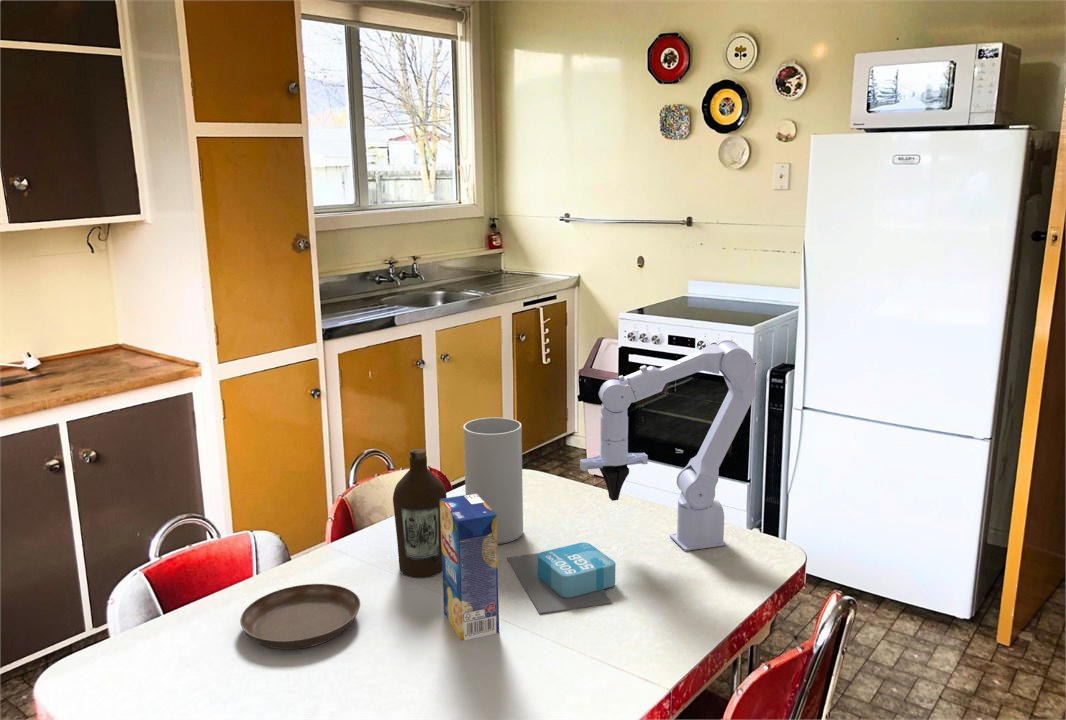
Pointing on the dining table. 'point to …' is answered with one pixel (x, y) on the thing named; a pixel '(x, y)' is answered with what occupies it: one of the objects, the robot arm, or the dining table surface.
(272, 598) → the plant saucer
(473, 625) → the beverage box
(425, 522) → the olive oil
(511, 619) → the dining table surface
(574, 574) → the data package
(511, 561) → the mat
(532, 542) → the dining table surface
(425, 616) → the dining table surface
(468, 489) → the cylinder vase
